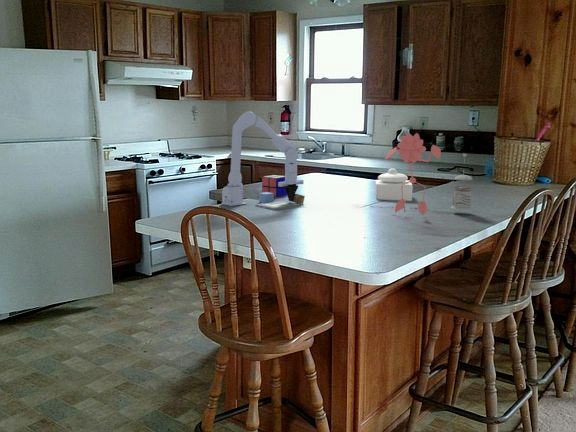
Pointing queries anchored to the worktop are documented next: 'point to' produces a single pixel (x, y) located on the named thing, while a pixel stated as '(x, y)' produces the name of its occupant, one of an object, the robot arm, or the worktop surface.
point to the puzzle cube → (273, 185)
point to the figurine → (412, 151)
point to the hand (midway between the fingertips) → (291, 200)
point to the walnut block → (298, 199)
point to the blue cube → (266, 197)
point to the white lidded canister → (393, 186)
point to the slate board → (279, 205)
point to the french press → (462, 193)
